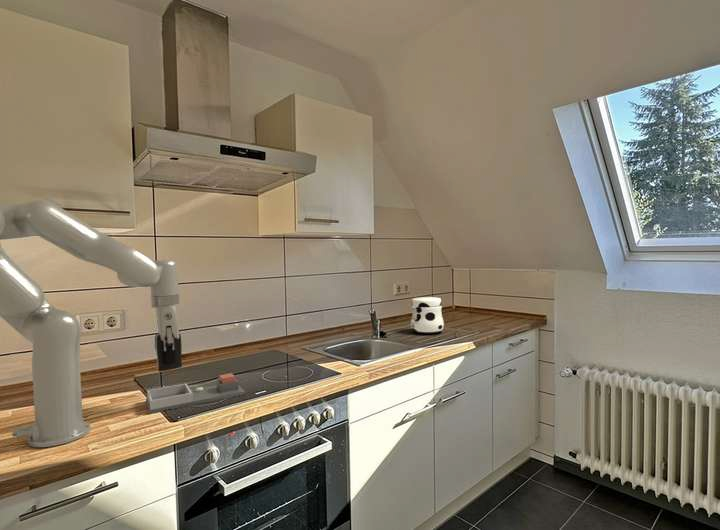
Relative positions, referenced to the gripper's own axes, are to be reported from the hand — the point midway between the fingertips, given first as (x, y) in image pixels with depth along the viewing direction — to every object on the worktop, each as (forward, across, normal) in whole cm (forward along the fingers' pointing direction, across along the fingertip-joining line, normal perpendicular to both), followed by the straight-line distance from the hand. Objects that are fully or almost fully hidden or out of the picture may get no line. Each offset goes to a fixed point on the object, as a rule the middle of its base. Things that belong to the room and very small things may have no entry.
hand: (168, 361), depth 124 cm
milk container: (+14, +33, -129) cm, 134 cm away
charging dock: (+13, 0, -7) cm, 15 cm away
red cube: (+12, 0, -17) cm, 20 cm away
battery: (+3, 0, 0) cm, 3 cm away
